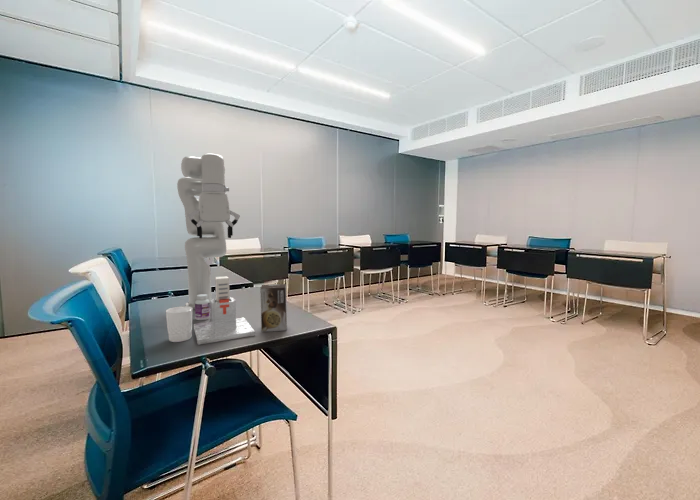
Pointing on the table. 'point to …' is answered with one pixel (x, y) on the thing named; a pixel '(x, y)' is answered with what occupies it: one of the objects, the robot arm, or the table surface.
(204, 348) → the table surface
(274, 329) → the coffee box
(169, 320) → the white cup
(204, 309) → the pill bottle
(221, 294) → the column
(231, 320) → the stand
